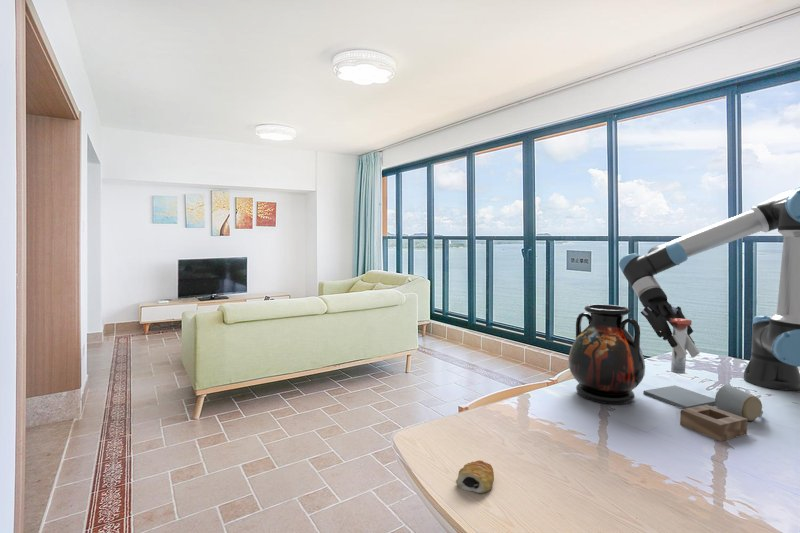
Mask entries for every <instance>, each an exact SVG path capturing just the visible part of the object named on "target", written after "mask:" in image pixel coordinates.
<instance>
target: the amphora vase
mask: <svg viewBox="0 0 800 533" xmlns="http://www.w3.org/2000/svg"><path fill="white" fill-rule="evenodd" d="M584 310H585V312H581V313H579V314H578V316H577V318H576V322H575V339H574V341H573V342H572V345H571V347H570V350H569V352H568V353H569V354H568V361H567V362H568V368H569V372H570V373H571V375H572V376H573V378H574V379H575V381H576V382H577V385H576V387H575V390H576V392H577V393H578V395H580V396H581V397H583V398H585V399H587V400H590V401H593V402H596V403H601V404H609V405H622V404H628V403H630V402H632V401H633V400H634V399H635V393H634V391H633V390H634V389H636V388H637V386H639V385H640V384H641V383H642V381H643V379H644V378H645V376H646V374H645V373H646V365H645V364H646V363H645V358H644V354H643V351H642V349H641V347H640V346H641V326H640V325H639V322H638V321H637V320H636V319H634V318H629V317H628V318H626V319H624V316H627V315H629V314H631V309H630V308H628V307H626V306H621V305H614V304H587V305H586V306H584ZM584 317H585V318H586V320H588V326H586V327H585V328H584V329H583V330H582V320H583V318H584ZM628 323H629V324H631V325H632V327H633V329H634V336H632V335H631V333H629V331H628V329H626V326H627V324H628Z"/></svg>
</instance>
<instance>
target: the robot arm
mask: <svg viewBox="0 0 800 533" xmlns="http://www.w3.org/2000/svg"><path fill="white" fill-rule="evenodd" d="M774 230H777V232H778V233H779V234H780V235H781V236H782V237H783V241H782V254H781V262H780V264H781V265H780V274H779V282H778V283H779V285H778V295H777V307H776V312H775V314H772V316H771V315H755V316H754V317H753V319H752V324H751V327H752V329H751V330H752V334H751V349H750V350H751V354H750V359H749V361H748V364H747V365H746V368H745V370H744V371H743V379H744V381H746V382H747V383H749V384H753V385H756V386H760V387H763V388H768V389H774V390H782V391H800V370H799V368H800V186H799V187H798V188H795V189H790V190H786V191H783V192H781V193H779V194H777V195H775V196H773V197H772V198H769V199H767V200H765V201H763V202H761V203H758V204H756V205H753V206H751V207H750V209H749V211H746V212H744V213H740V214H739V215H735V216H732V217H730V218H727V219H725V220H722V221H720V222H716V223H715V224H714V223H713V224H712V225H709V226H707V227H704V228H702V229H699V230H696V231H693V232H692V233H691V232H690V233H688V234H686V235H683V236H680V237H678V238H675V239H673V240H671V241H668V242H666V243H662V244H660V245H656V246H653V247H651V248H650V249H649V250H648V251H647V253H646V254H644V255H640V254H638V253H636V252H635V253H629V254H626V255H624V256H623V257H622V258H621V259H620V260H619V262H618V264H619V265H618V266H619V268H620V270H621V272H622V274H623V276H624V277H625V278H626V280H627V282H628V283H629V285H630V287H631V289H632V290H633V291H634V293H635V294H636V296H637V298H638V300H639V301H640V303H641V305H642V306H643V307H644V308H643V309H642V310H641V311H640V313H641V315H642V316H643V317H644V318H645V319H646V321H648V323H649V325H650V326H651V328H652V330H654V333H655V334H656V335H657V337H659V338H662V340H663V341H667V342H668V344H669V345H670V347H671V348H672V347H673V348H674V350H675V351H676V353H677V355H678V356H679V358H683V357H684V356H685V355H686V356H687V355H688V354H689V355H690V356H691V358H692V359H694V358H695V357H697V356H699V354H700V353H701V352H700V350H699V349H698V347H697V345H695V341H694V340H693V338H692V337H691V334H692V333H694V330H693V328H692V325H688V326H687V343H686V350H685V349H684V347H683V345H682V344H681V342H680V341H679V339H678V338H677V336H676V335H673V331H672V330H671V327H672V328H673V324H671V323H669V322H670V318H682V319H687V318H686V317H685V315H684V314H683V312H682V307H681V306H677V307H674V306H673V305H672V304H671V303H669V302H668V296H667V294H666V292H665V291H664V290H663V288H662V287H661V285H660V284H659V282H658V280H656V278H655V277H654V276H655V275H658V274H660V273H662V272H665V271H667V270H669V269H671V268H674V267H677V266H680V265H681V264H682V263H684V262H687V261H688V258H689V257H692V256H695V255H698V254H700V253H703V252H706V251H709V250H711V249H715V248H717V247H720V246H723V245H726V244H729V243H731V242H734V241H736V240H740V239H743V238H746V237H748V236H751V235H754V234H756V233H759V232H763V233H768V232H772V231H774ZM669 324H670V325H671V327H670V326H669Z"/></svg>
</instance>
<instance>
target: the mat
mask: <svg viewBox="0 0 800 533" xmlns="http://www.w3.org/2000/svg"><path fill="white" fill-rule="evenodd" d="M643 394H644V395H646V396H648V397H651V398H654V399H656V400H659V401H662V402H664V403H666V404H670V405H671V406H672V405H673V406H675V407H677V408H679V409H686V408H691V407H697V406H702V405H709V406H716V405H715V397H711V396H707V395H705V394H703V393H700V392H695V391H693V390H690V389H687V388H684V387H681V386H678V385H670V386H669V385H668V386H663V387H656V388H651V389H644V390H643Z"/></svg>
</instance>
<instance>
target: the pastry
mask: <svg viewBox="0 0 800 533" xmlns="http://www.w3.org/2000/svg"><path fill="white" fill-rule="evenodd" d="M457 476H458V477H457V478H456V480H455V482H456V485H457V486H458V488H460V489H461V490H464V491H469V492H474V493H476V494H477V493H478V494H484V493H488V492H489V491H491V489H492V487H493V484H494V480H495V475H494V468H493V466H492V465H491V464H490V463H488V462H486V461H484V460H476V461H471V462H468V463H465V464H464V466H463V467H462V468H460V469H459V471H458V475H457Z"/></svg>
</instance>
